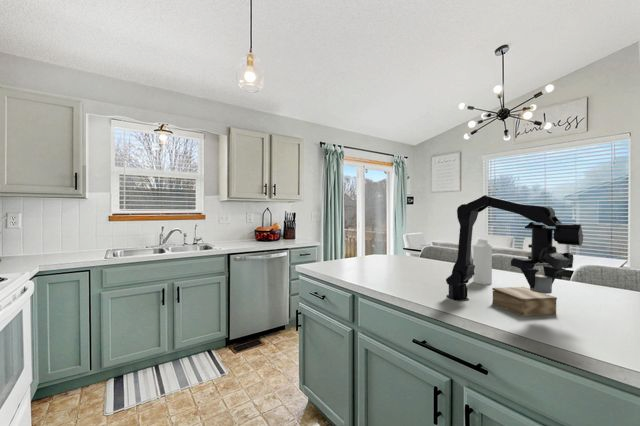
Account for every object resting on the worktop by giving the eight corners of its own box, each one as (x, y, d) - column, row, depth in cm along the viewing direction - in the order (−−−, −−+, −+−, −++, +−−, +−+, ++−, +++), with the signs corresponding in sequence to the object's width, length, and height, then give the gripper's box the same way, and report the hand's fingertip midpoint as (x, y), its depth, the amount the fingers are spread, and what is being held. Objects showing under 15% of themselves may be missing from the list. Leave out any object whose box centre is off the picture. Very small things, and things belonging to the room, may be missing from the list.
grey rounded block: (540, 293, 98) (540, 278, 97) (525, 288, 103) (525, 274, 103) (556, 293, 98) (556, 278, 98) (540, 288, 104) (541, 274, 104)
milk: (482, 284, 146) (482, 240, 145) (472, 281, 152) (472, 239, 151) (492, 283, 147) (492, 240, 147) (482, 280, 153) (482, 238, 153)
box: (521, 315, 103) (521, 301, 103) (492, 303, 117) (492, 290, 117) (556, 313, 105) (556, 299, 105) (524, 301, 119) (524, 289, 119)
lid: (521, 301, 103) (521, 298, 103) (492, 289, 117) (492, 287, 117) (556, 299, 105) (556, 297, 105) (523, 288, 119) (523, 286, 119)
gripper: (537, 246, 91) (536, 295, 92) (590, 245, 94) (588, 294, 94) (510, 241, 102) (509, 286, 103) (557, 241, 105) (556, 284, 105)
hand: (540, 287), depth 101 cm, fingers closed on grey rounded block, 6 cm apart
